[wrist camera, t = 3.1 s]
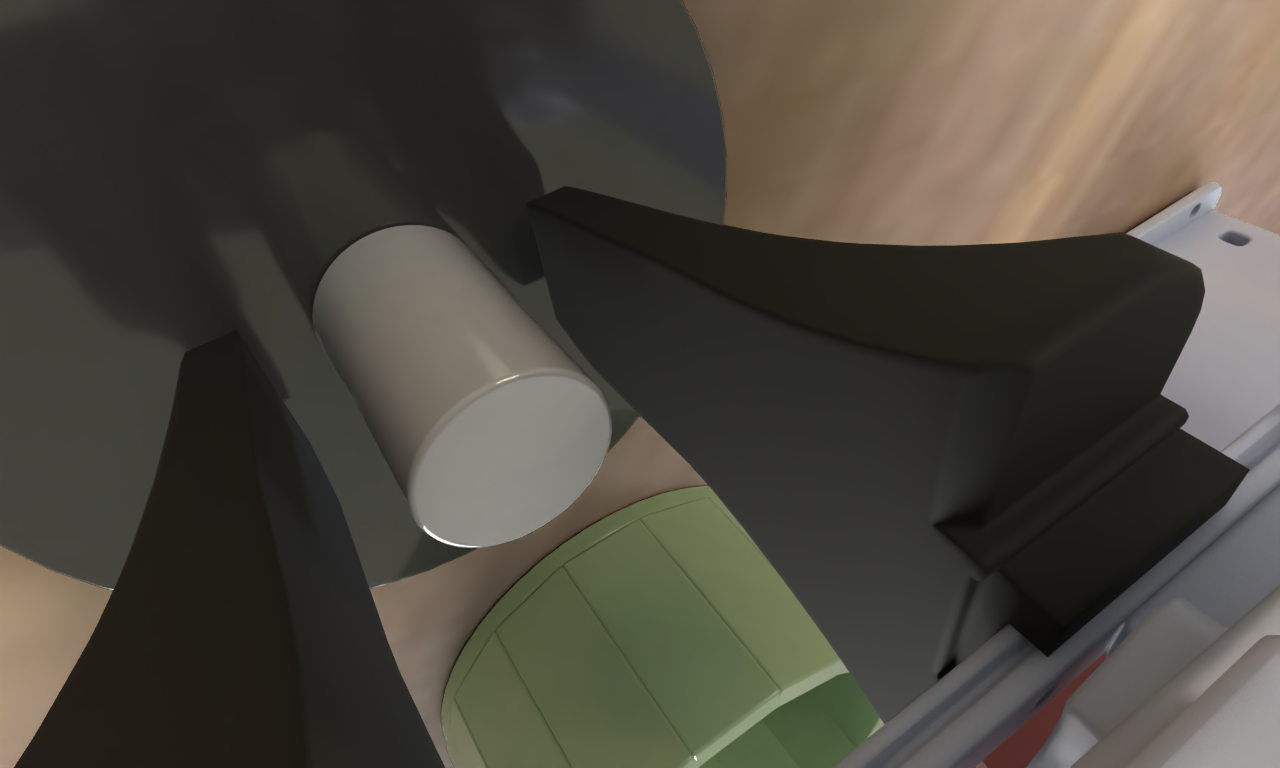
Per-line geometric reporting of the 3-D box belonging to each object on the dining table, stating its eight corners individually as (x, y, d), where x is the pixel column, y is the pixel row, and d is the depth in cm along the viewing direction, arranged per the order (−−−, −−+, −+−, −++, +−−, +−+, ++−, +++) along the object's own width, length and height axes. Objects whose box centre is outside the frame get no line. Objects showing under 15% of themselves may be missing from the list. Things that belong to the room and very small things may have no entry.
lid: (651, -311, 9) (977, -329, 6) (708, 369, 17) (864, 508, 14) (-628, -39, 6) (-1347, 231, 3) (190, 660, 13) (250, 930, 10)
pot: (766, 418, 19) (939, 571, 16) (768, 620, 27) (887, 757, 23) (376, 653, 16) (485, 913, 13) (500, 811, 23) (591, 1003, 20)
